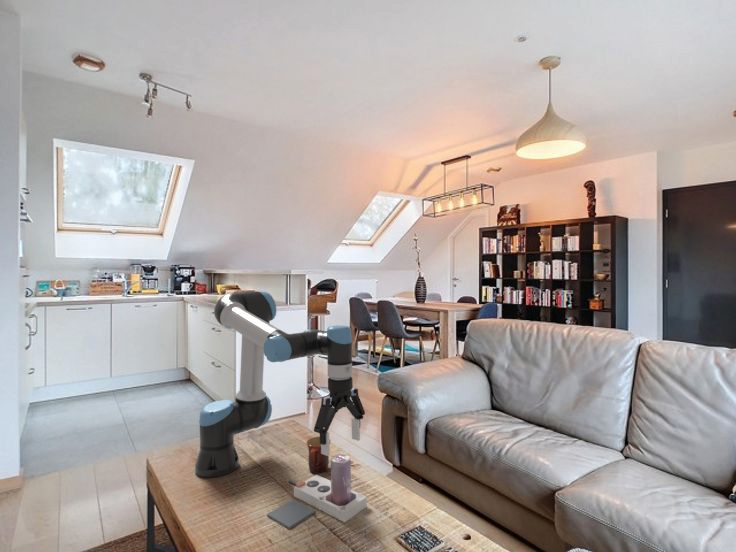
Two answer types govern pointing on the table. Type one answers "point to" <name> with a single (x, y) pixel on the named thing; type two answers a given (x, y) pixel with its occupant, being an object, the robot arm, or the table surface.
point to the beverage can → (340, 480)
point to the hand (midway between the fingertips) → (341, 446)
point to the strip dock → (327, 498)
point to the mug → (316, 456)
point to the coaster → (291, 513)
